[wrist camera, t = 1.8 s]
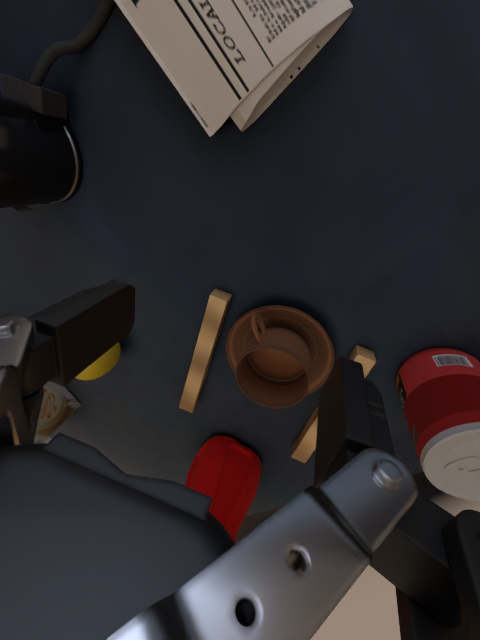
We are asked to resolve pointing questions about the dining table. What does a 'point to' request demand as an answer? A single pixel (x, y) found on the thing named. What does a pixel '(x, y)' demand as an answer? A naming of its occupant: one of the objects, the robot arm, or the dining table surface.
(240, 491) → the water bottle
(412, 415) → the canned food
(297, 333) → the cup and saucer
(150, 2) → the newspaper
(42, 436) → the coffee box
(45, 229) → the dining table surface
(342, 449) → the robot arm
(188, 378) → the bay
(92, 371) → the lemon
